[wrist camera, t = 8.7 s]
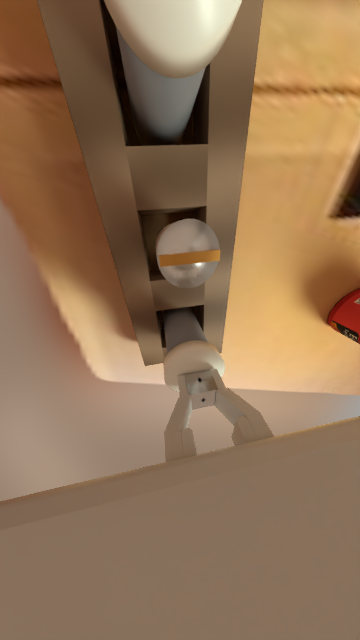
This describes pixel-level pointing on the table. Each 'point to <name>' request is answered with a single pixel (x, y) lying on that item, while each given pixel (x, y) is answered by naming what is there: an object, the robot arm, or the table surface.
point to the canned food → (347, 316)
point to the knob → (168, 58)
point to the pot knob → (187, 252)
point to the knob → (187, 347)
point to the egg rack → (158, 160)
